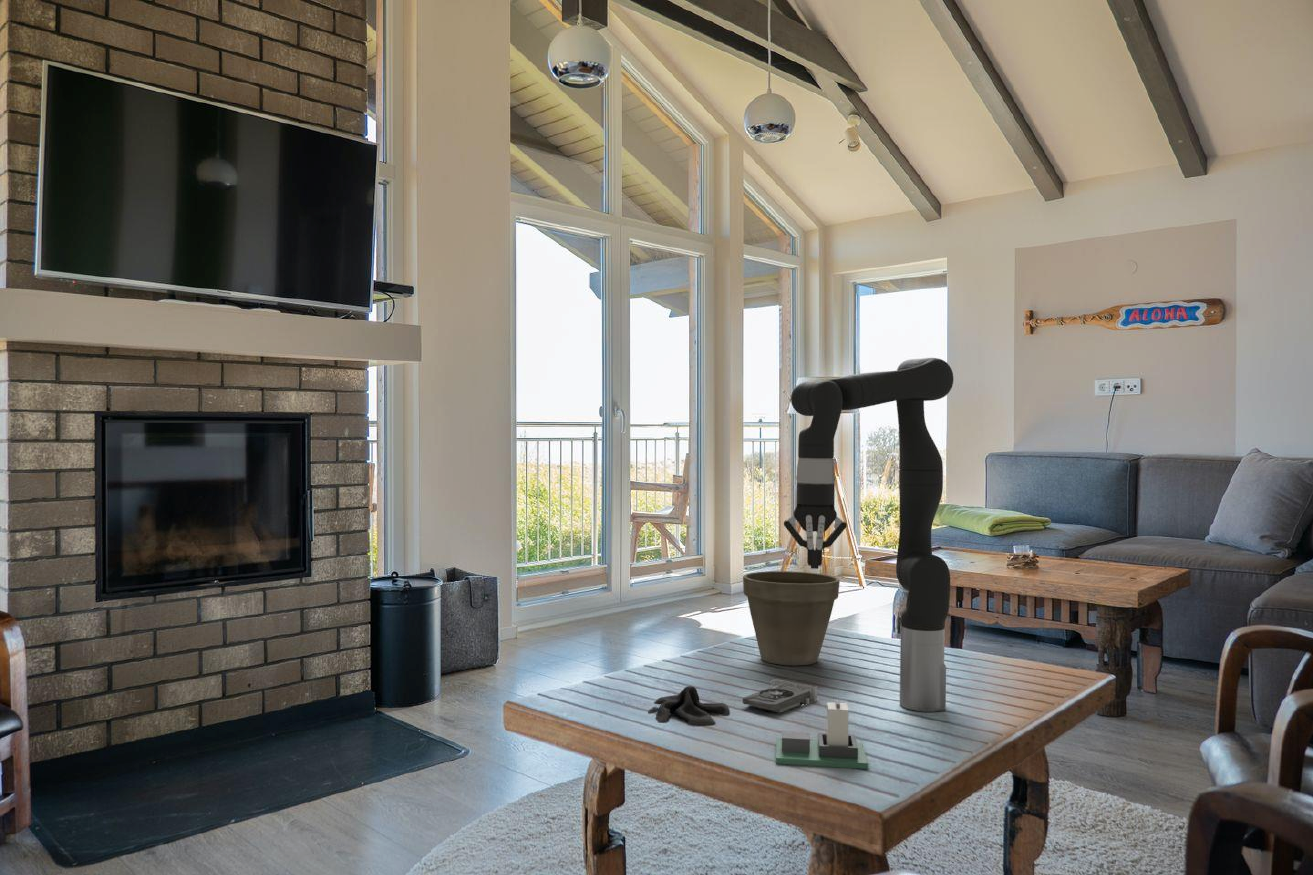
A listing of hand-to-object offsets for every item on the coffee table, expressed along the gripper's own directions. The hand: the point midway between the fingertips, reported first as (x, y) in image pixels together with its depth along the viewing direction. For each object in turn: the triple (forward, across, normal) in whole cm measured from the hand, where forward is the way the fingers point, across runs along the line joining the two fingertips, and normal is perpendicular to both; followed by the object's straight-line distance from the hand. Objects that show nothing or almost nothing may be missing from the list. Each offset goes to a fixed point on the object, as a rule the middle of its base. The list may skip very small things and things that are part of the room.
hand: (814, 567), depth 189 cm
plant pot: (+32, +4, -58) cm, 66 cm away
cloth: (+33, +26, -6) cm, 42 cm away
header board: (+32, -1, +16) cm, 36 cm away
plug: (+31, -4, +16) cm, 35 cm away
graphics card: (+33, +8, -17) cm, 38 cm away
